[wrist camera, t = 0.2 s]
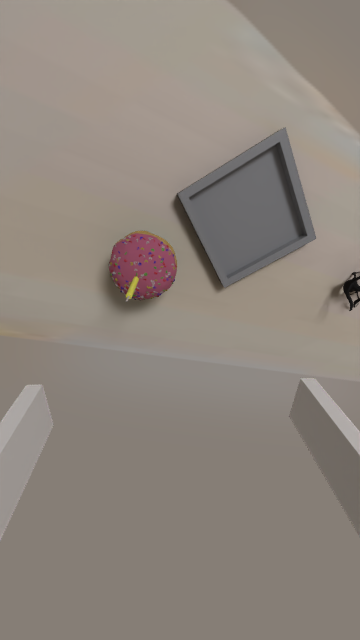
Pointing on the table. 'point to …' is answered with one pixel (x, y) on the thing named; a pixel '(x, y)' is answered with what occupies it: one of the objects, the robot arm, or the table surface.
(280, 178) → the tray
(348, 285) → the creature
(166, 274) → the cupcake
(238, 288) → the table surface
